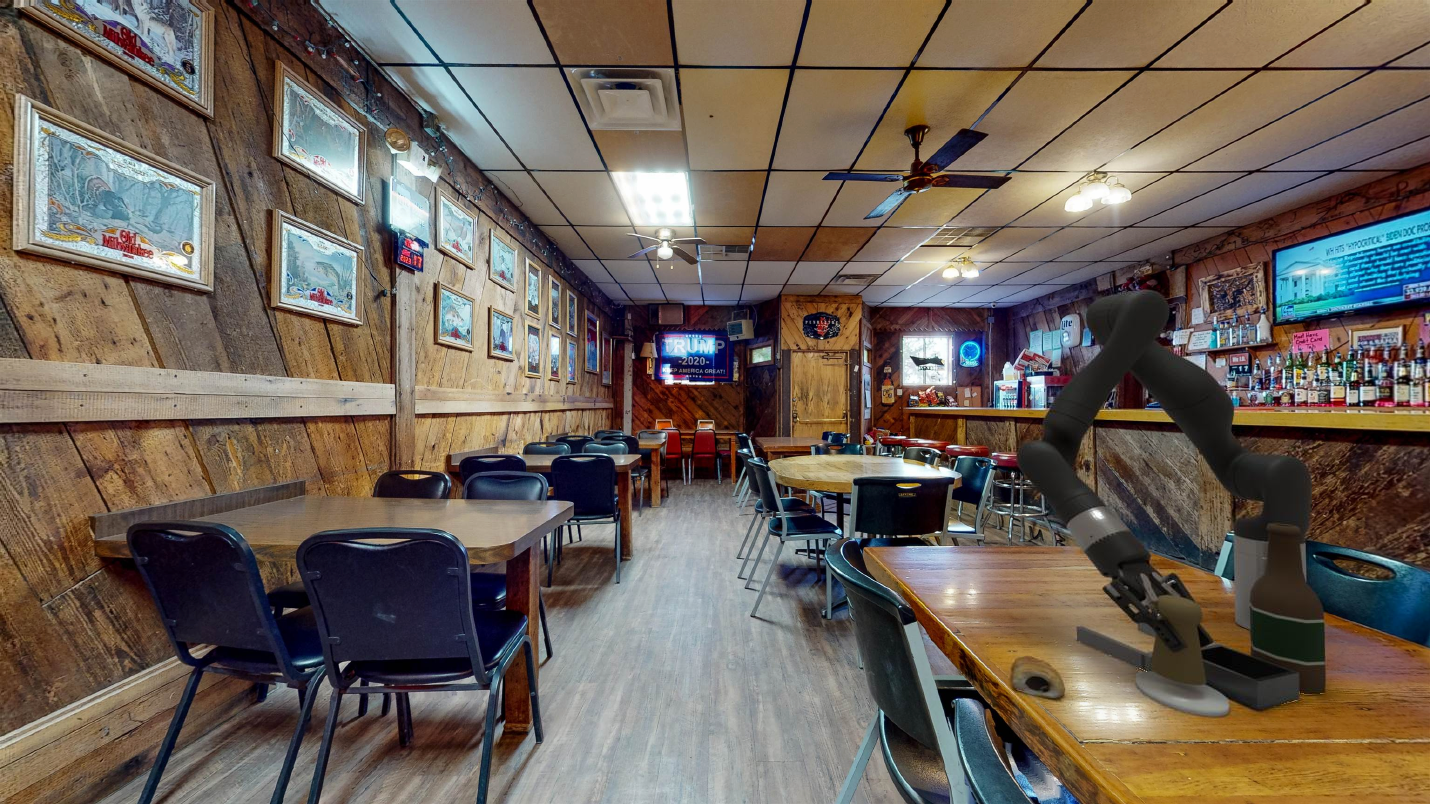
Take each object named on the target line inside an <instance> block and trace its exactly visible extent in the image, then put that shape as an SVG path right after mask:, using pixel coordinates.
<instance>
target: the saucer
mask: <svg viewBox="0 0 1430 804" xmlns="http://www.w3.org/2000/svg"><path fill="white" fill-rule="evenodd" d="M1136 686H1137V687H1136ZM1135 687H1136V689H1137V688H1138V689H1139V690H1140V691H1141V692H1142V693H1143V695H1144V694H1145V695H1146V696H1145V695H1144V696H1145V697H1147V696H1148V697H1149V699H1150V700H1152V701H1153V702H1156V703H1158V704H1160V705H1163V706H1165V707H1167V708H1169V709H1173V710H1176V711H1179V712H1182V713H1185V714H1186V713H1187V714H1191V715H1195V716H1200V717H1208V718H1218V717H1219V718H1221V717H1224V716H1227V715H1228V714H1229V713H1230V701H1229V699H1228V698H1226V697H1225V696H1224V695H1223V694H1221V693H1220V692H1218V691H1217V690H1215V689H1213V688H1211V687H1209V686H1207V685H1205V684H1204V685H1190V684H1184V683H1180V682H1176V681H1173V680H1170V679H1167V678H1165V677H1163V676H1160V675H1158V674H1157V673H1155V672H1154V671H1147V672H1146V671H1140V672H1139V673H1137V674H1136V675H1135ZM1138 689H1137V690H1138ZM1139 690H1138V691H1139ZM1140 691H1139V692H1140ZM1141 692H1140V693H1141ZM1142 693H1141V694H1142ZM1148 697H1147V698H1148Z"/></svg>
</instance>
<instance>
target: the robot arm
mask: <svg viewBox="0 0 1430 804" xmlns="http://www.w3.org/2000/svg"><path fill="white" fill-rule="evenodd" d="M1169 317H1170V307H1169V303H1168V301H1167V299H1166V298H1165V296H1164V295H1162V294H1161V293H1160V292H1157V291H1155V290H1153V289H1152V290H1150V289H1139V290H1137V289H1136V290H1131V291H1127V292H1122V293H1121V292H1120V293H1115V294H1111V295H1107V296H1104V297H1100V298H1099V299H1096V300H1094V301H1093V302H1092V303H1091V304H1090V305H1089V306H1088V308H1087V311H1086V314H1085V322H1086V325H1087V328H1088V331H1089V332H1090V335H1092V336H1093V338H1094V339H1095V340H1096V341H1097V342H1098V343H1100V345H1102V348H1101V349H1100V351H1099V352H1098V353H1097V354H1096V355H1095V357H1093V359H1091V361H1089V363H1087V364H1086V365H1085V366H1084V367H1083V368H1081V370H1080V371H1078V372H1077V373H1076V374H1075V375H1074V376H1072V377H1071V378H1070V379H1069V380H1068V382H1067V383H1066V384H1065V385H1064V386H1063V387H1062V388H1061V390H1060V391H1059V392H1058V394H1057V395H1056V397H1055V399H1054V401H1053V402H1052V404H1051V405H1050V408H1049V409H1048V410H1047V412H1046V414H1045V416H1044V418H1043V421H1042V428H1043V435H1042V438H1041V439H1040V440H1029V441H1026V442H1024V443H1023V444H1022V445H1020V447H1019V448H1018V450H1017V452H1016V454H1015V460H1016V464H1017V467H1018V468H1019V470H1020V471H1021V473H1022V474H1023V475H1024V476H1025V477H1026V478H1027V480H1028V481H1029V482H1030V483H1031V484H1032V485H1033V486H1034V488H1035V489H1037V491H1038V492H1039V494H1041V495H1042V496H1043V497H1044V498H1045V499H1046V501H1047V502H1048V504H1049V505H1050V507H1051V508H1052V510H1053V511H1054V513H1055V514H1056V515H1057V516H1058V518H1059V519H1060V521H1061V522H1062V523H1063V525H1064V526H1065V527H1066V528H1067V530H1068V531H1069V534H1070V535H1071V536H1072V538H1073V539H1074V541H1075V543H1077V545H1078V546H1079V548H1080V549H1081V550H1082V551H1083V553H1084V554H1085V555H1086V557H1087V558H1088V559H1089V560H1090V562H1091V563H1092V564H1093V565H1094V567H1095V568H1096V570H1097V571H1098V572H1099V573H1100V575H1102V576H1103V577H1104V578H1111V581H1110V582H1108V583H1107V584H1106V585H1104V586H1102V591H1103V592H1104V594H1105V595H1107V596H1108V597H1109V599H1111V600H1112V601H1113V602H1114V604H1115V605H1116V606H1118V608H1120V609H1121V611H1122V612H1124V613H1125V614H1126V616H1127V617H1129V619H1131V621H1132V622H1134V623H1135V624H1137V625H1138V624H1139V623H1145V624H1146V625H1147V626H1149V627H1151V628H1152V629H1153V630H1154V631H1155V633H1156V634H1157V635H1158V636H1159V637H1160V639H1161V640H1162V641H1163V643H1164V644H1165V645H1166V646H1167V647H1168V648H1169V649H1170V650H1171V651H1172V652H1178V651H1181V650H1183V649H1185V648H1187V644H1186V642H1185V641H1184V640H1183V639H1182V638H1181V636H1180V635H1179V634H1178V633H1177V631H1176V630H1175V629H1174V628H1173V627H1172V625H1171V624H1170V623H1169V622H1168V620H1165V621H1163V620H1164V619H1165V618H1164V616H1163V614H1162V613H1161V612H1160V610H1159V609H1158V607H1157V604H1158V601H1159V600H1158V598H1157V597H1159V596H1162V595H1171V596H1178V597H1182V598H1186V599H1189V600H1191V601H1193V602H1195V603H1196V604H1198V603H1197V602H1196V600H1195V599H1194V598H1193V596H1192V595H1191V594H1190V592H1189V590H1188V588H1187V587H1186V586H1185V584H1184V582H1183V581H1182V580H1181V578H1180V577H1179V576H1178V574H1176V573H1174V572H1170V573H1169V574H1167V575H1166V574H1161V573H1160V572H1159V570H1157V569H1156V568H1154V567H1153V566H1152V565H1151V564H1150V560H1151V557H1152V555H1151V552H1150V551H1149V550H1148V549H1147V548H1146V547H1145V546H1144V544H1143V543H1141V540H1139V539H1138V538H1137V537H1136V535H1134V533H1133V532H1132V531H1131V530H1130V529H1129V527H1128V526H1127V525H1126V524H1125V523H1124V522H1123V520H1122V519H1121V518H1120V517H1119V516H1117V515H1116V514H1115V513H1114V512H1113V511H1112V509H1110V508H1109V507H1108V506H1107V504H1105V502H1104V501H1103V499H1102V498H1100V497H1099V496H1098V494H1096V493H1097V492H1095V491H1094V490H1093V489H1092V488H1091V487H1090V486H1089V485H1087V484H1086V483H1085V482H1084V481H1083V480H1082V479H1081V478H1080V477H1079V476H1078V474H1077V473H1076V472H1075V470H1074V469H1073V467H1074V465H1075V463H1076V461H1077V457H1078V455H1079V452H1080V450H1081V446H1082V443H1083V440H1084V437H1085V435H1086V434H1087V432H1088V431H1089V430H1090V428H1091V426H1092V424H1093V422H1094V421H1095V419H1096V418H1097V416H1098V414H1099V412H1100V410H1101V409H1102V407H1103V406H1104V403H1105V402H1106V401H1107V399H1108V397H1109V396H1110V395H1111V393H1112V392H1113V391H1114V389H1115V387H1116V386H1117V385H1118V384H1119V383H1120V382H1121V380H1122V379H1123V378H1124V377H1125V375H1126V374H1127V373H1128V372H1130V373H1131V374H1132V375H1133V376H1134V377H1135V379H1136V380H1137V381H1138V382H1139V383H1140V385H1142V387H1143V388H1145V389H1146V391H1147V392H1148V393H1149V394H1150V395H1151V396H1152V398H1153V399H1154V400H1155V402H1156V403H1157V404H1158V406H1160V408H1161V409H1162V410H1163V412H1165V413H1166V414H1167V416H1168V417H1169V418H1170V419H1171V420H1172V421H1173V423H1175V424H1176V425H1177V426H1178V428H1180V430H1181V431H1182V432H1183V433H1184V435H1185V436H1186V437H1187V438H1188V440H1189V441H1190V442H1191V443H1192V445H1193V446H1194V447H1195V448H1196V449H1197V451H1198V452H1199V453H1200V455H1201V456H1202V457H1203V459H1204V460H1205V462H1206V463H1207V465H1208V466H1209V469H1210V470H1211V471H1212V473H1213V474H1214V476H1215V477H1216V478H1217V481H1219V483H1220V485H1222V487H1223V488H1224V489H1225V490H1226V491H1227V492H1229V494H1231V495H1232V496H1234V497H1237V498H1239V499H1242V500H1247V501H1254V502H1259V503H1262V509H1261V513H1260V514H1258V515H1255V516H1252V517H1251V516H1250V517H1243V518H1242V517H1241V518H1238V519H1236V520H1234V523H1233V551H1234V552H1233V554H1234V555H1233V559H1234V560H1233V561H1234V562H1233V563H1234V565H1233V566H1234V567H1233V568H1234V570H1233V571H1234V618H1235V619H1234V620H1235V623H1236V624H1237V625H1239V626H1241V627H1243V628H1245V629H1247V630H1249V631H1250V592H1251V589H1252V587H1253V585H1254V583H1255V582H1256V581H1257V580H1258V579H1259V578H1260V577H1261V576H1262V575H1264V573H1265V569H1266V565H1267V553H1268V538H1269V532H1268V531H1267V530H1266V528H1267V525H1268V524H1271V523H1279V524H1288V525H1294V526H1297V527H1298V528H1300V530H1301V532H1302V535H1300V536H1299V540H1300V549H1301V558H1302V567H1303V573H1304V577H1305V580H1306V581H1307V558H1306V556H1307V555H1306V553H1307V552H1306V534H1307V532H1308V530H1309V527H1310V524H1311V509H1312V507H1311V505H1312V504H1311V503H1312V493H1313V492H1312V491H1313V489H1312V488H1313V484H1312V481H1313V480H1312V475H1311V472H1310V470H1309V468H1308V466H1307V465H1306V463H1305V462H1304V461H1302V459H1300V458H1297V457H1294V456H1289V455H1283V454H1282V455H1278V454H1267V453H1254V452H1250V450H1247V449H1246V448H1245V447H1244V446H1242V444H1241V443H1240V442H1239V441H1238V440H1237V439H1236V437H1235V435H1234V434H1233V432H1232V427H1233V422H1234V417H1235V403H1234V402H1233V399H1232V397H1231V396H1230V395H1229V393H1228V392H1227V391H1226V390H1225V389H1224V387H1222V385H1221V384H1220V383H1219V381H1217V379H1216V378H1215V377H1214V375H1212V374H1211V373H1210V372H1209V371H1207V370H1206V369H1205V368H1203V367H1201V366H1200V365H1198V364H1197V363H1195V362H1193V361H1191V360H1189V359H1187V358H1185V357H1183V356H1181V355H1179V354H1178V353H1175V352H1173V351H1172V350H1170V349H1168V348H1167V347H1165V346H1163V345H1162V344H1160V343H1159V342H1158V341H1157V340H1156V339H1157V338H1158V336H1159V335H1160V334H1161V332H1162V331H1163V330H1164V328H1165V326H1166V325H1167V323H1168V321H1169ZM1101 499H1102V500H1101ZM1130 605H1131V606H1130ZM1131 607H1132V608H1131ZM1197 629H1198V635H1199V641H1200V647H1205V646H1208V645H1210V644H1212V643H1213V642H1214V639H1213V637H1211V635H1210V633H1209V632H1208V631H1206V629H1205V628H1204V626H1203V625H1202V624H1201V622H1200V623H1199V624H1198V625H1197Z"/></svg>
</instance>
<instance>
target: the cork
mask: <svg viewBox="0 0 1430 804" xmlns="http://www.w3.org/2000/svg"><path fill="white" fill-rule="evenodd" d="M1157 598H1158V600H1159V601H1158V604H1157V607H1158V609H1159V610H1160V612H1161V613H1162V614H1163V616H1164V618H1165V619H1164V620H1163V621H1165V620H1168V622H1169V623H1170V624H1171V625H1172V627H1173V628H1174V629H1175V630H1176V631H1177V633H1178V634H1179V635H1180V636H1181V638H1182V639H1183V640H1184V641H1185V642H1186V644H1187V648H1185V649H1183V650H1181V651H1178V652H1172V651H1171V650H1170V649H1169V648H1168V647H1167V646H1166V645H1165V644H1164V643H1163V641H1162V640H1161V639H1160V637H1159V636H1158V635H1157V634H1156V637H1154V644H1153V649H1152V652H1153V654H1152V659H1151V665H1150V667H1151V669H1152V670H1153V671H1154V672H1155V673H1157V674H1158V675H1160V676H1163V677H1165V678H1167V679H1170V680H1173V681H1176V682H1180V683H1184V684H1190V685H1204V684H1205V683H1207V682H1206V676H1205V671H1204V665H1203V659H1202V653H1201V647H1200V641H1199V635H1198V629H1197V625H1198V624H1199V623H1200V624H1201V622H1202V620H1203V612H1202V608H1201V607H1200V605H1199V604H1198V603H1197V602H1196V601H1195V602H1196V603H1197V604H1196V603H1195V602H1193V601H1191V600H1189V599H1186V598H1182V597H1178V596H1171V595H1162V596H1159V597H1157Z"/></svg>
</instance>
